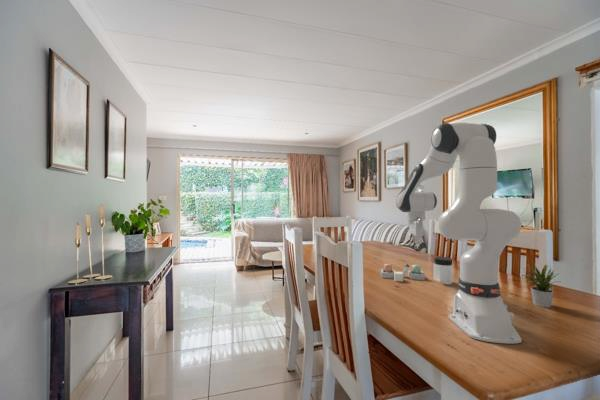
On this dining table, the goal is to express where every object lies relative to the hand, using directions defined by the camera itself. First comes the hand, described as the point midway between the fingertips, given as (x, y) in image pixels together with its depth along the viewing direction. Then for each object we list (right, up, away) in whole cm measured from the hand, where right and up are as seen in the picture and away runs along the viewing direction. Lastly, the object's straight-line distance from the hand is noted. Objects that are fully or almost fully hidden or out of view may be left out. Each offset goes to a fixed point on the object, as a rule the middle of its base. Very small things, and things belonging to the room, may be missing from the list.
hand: (416, 243), depth 146 cm
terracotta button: (-13, -16, +3) cm, 21 cm away
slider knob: (-11, -18, -4) cm, 21 cm away
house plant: (+36, -19, -33) cm, 53 cm away
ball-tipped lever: (-7, -18, +2) cm, 19 cm away
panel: (-7, -19, -1) cm, 20 cm away
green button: (0, -16, 0) cm, 16 cm away
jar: (+12, -19, -4) cm, 23 cm away
